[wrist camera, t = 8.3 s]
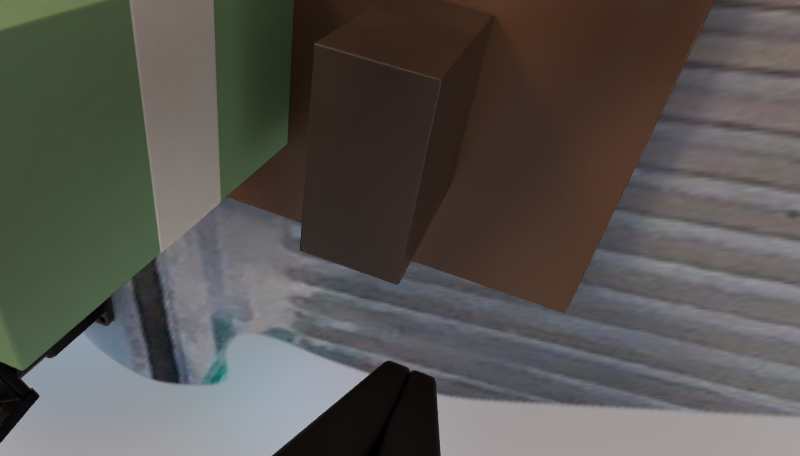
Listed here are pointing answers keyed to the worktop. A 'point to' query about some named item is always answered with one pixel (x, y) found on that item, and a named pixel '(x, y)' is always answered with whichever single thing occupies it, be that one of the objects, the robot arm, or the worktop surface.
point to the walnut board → (470, 132)
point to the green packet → (123, 141)
